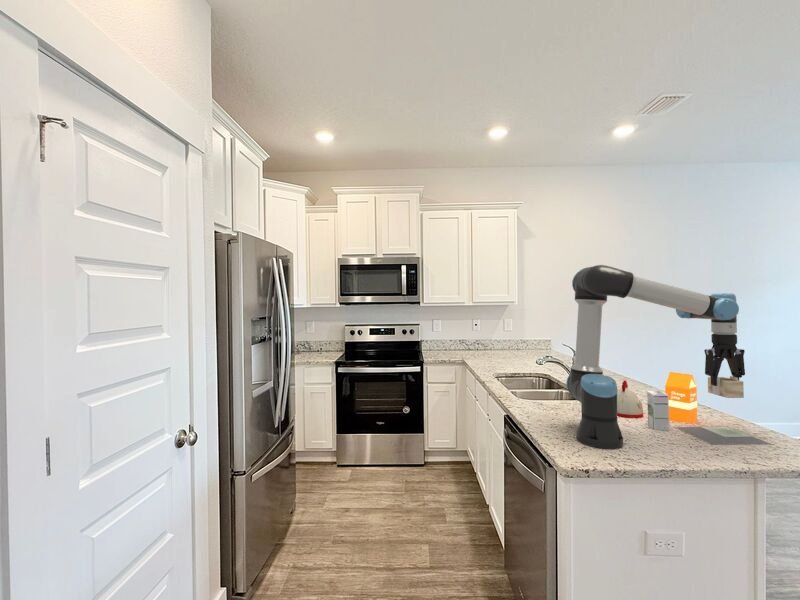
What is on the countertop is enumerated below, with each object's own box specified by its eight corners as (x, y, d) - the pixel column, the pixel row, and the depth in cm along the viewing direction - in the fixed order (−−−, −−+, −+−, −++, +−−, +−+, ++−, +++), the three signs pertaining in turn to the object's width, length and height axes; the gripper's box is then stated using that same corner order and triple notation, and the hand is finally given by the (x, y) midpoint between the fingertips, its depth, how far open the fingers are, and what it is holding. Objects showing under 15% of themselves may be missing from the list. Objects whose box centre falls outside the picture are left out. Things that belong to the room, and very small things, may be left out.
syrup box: (670, 431, 149) (669, 394, 149) (653, 430, 151) (652, 393, 151) (663, 427, 155) (662, 391, 155) (647, 426, 156) (646, 390, 156)
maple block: (708, 392, 151) (707, 377, 151) (723, 392, 151) (723, 376, 151) (727, 398, 142) (727, 381, 142) (743, 397, 142) (743, 381, 142)
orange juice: (689, 424, 158) (688, 375, 158) (665, 419, 165) (664, 372, 165) (697, 421, 162) (696, 373, 162) (673, 416, 169) (672, 370, 170)
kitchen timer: (604, 414, 173) (604, 381, 173) (611, 408, 183) (611, 376, 184) (640, 420, 164) (640, 385, 164) (645, 413, 174) (645, 380, 175)
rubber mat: (712, 446, 134) (712, 444, 134) (673, 428, 153) (673, 426, 153) (772, 445, 134) (772, 443, 134) (726, 428, 153) (726, 426, 153)
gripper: (706, 334, 143) (708, 396, 143) (758, 334, 143) (759, 396, 143) (691, 333, 151) (692, 392, 151) (740, 332, 151) (741, 391, 151)
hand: (725, 393), depth 147 cm, fingers closed on maple block, 6 cm apart
